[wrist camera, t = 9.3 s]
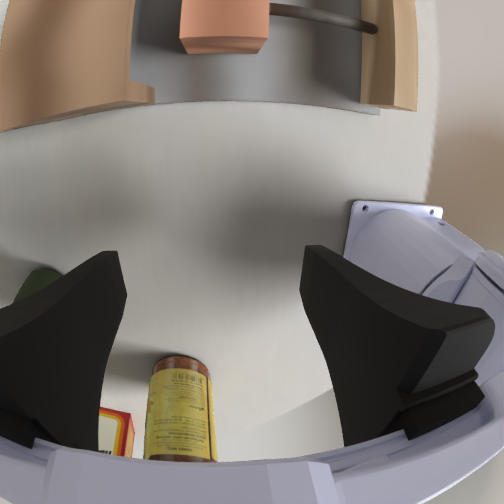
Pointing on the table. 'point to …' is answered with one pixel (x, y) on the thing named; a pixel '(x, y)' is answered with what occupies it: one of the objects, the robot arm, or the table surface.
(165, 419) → the sauce bottle
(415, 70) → the pull block
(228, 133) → the table surface
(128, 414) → the baking soda box
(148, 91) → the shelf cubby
